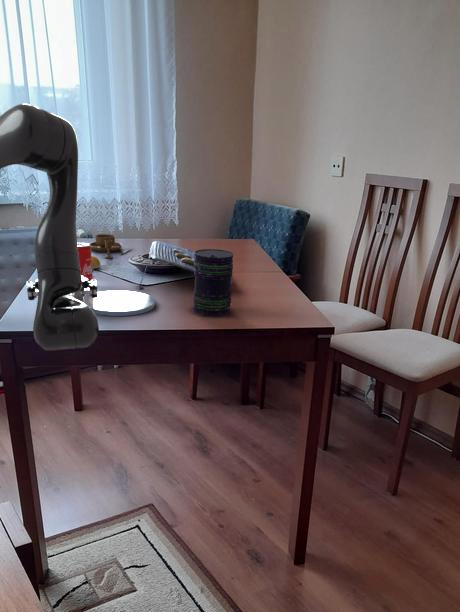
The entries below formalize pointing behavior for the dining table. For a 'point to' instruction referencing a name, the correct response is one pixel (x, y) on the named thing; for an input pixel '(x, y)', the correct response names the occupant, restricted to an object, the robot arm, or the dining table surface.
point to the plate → (120, 303)
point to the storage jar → (212, 282)
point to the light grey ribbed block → (173, 256)
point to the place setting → (106, 244)
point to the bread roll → (95, 262)
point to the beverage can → (85, 260)
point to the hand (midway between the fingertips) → (61, 280)
